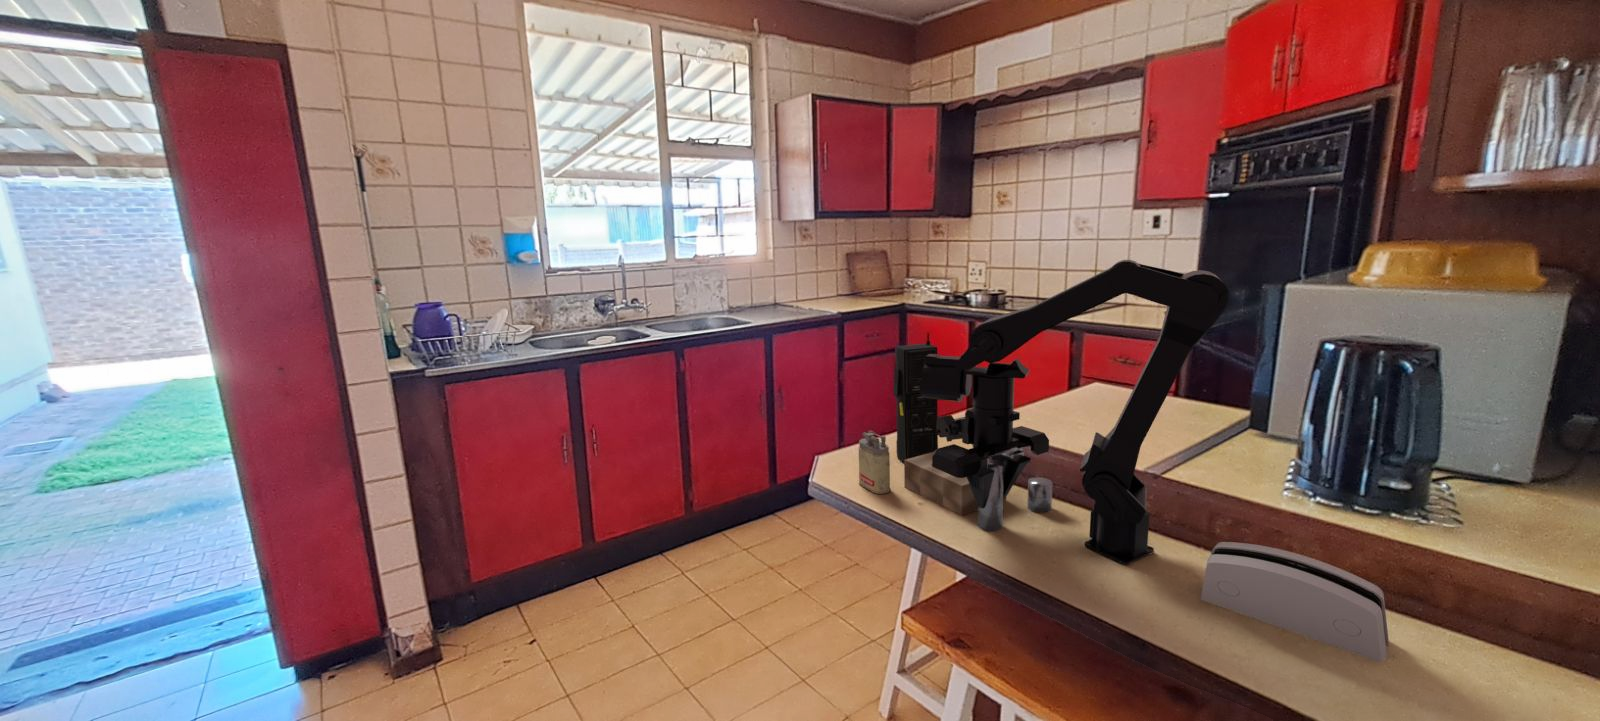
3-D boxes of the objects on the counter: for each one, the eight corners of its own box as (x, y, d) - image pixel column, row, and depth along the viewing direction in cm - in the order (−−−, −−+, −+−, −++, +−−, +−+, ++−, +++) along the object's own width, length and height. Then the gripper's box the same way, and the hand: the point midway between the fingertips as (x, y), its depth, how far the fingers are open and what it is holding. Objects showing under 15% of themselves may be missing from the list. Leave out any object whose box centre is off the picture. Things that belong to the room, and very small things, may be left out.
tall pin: (1007, 527, 96) (1009, 464, 94) (990, 533, 94) (992, 470, 92) (989, 518, 99) (991, 457, 97) (972, 524, 97) (973, 462, 95)
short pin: (1056, 509, 101) (1057, 482, 100) (1040, 515, 100) (1042, 488, 99) (1037, 501, 104) (1038, 475, 103) (1022, 506, 103) (1023, 480, 102)
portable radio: (902, 467, 121) (901, 338, 116) (890, 457, 127) (888, 333, 122) (940, 462, 123) (941, 335, 118) (926, 452, 129) (926, 330, 123)
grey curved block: (1391, 641, 68) (1401, 572, 63) (1383, 674, 65) (1393, 606, 61) (1211, 581, 80) (1209, 521, 76) (1198, 608, 77) (1196, 547, 73)
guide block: (1006, 500, 105) (1007, 471, 104) (961, 515, 100) (961, 485, 99) (947, 474, 117) (947, 448, 116) (904, 486, 112) (904, 459, 111)
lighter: (855, 482, 115) (853, 429, 113) (872, 478, 117) (871, 425, 115) (877, 496, 109) (877, 440, 107) (895, 491, 111) (895, 436, 109)
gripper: (996, 384, 104) (993, 473, 107) (907, 403, 95) (907, 500, 98) (1053, 398, 95) (1049, 496, 98) (960, 421, 86) (959, 528, 89)
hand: (990, 504), depth 96 cm, fingers closed on tall pin, 4 cm apart
